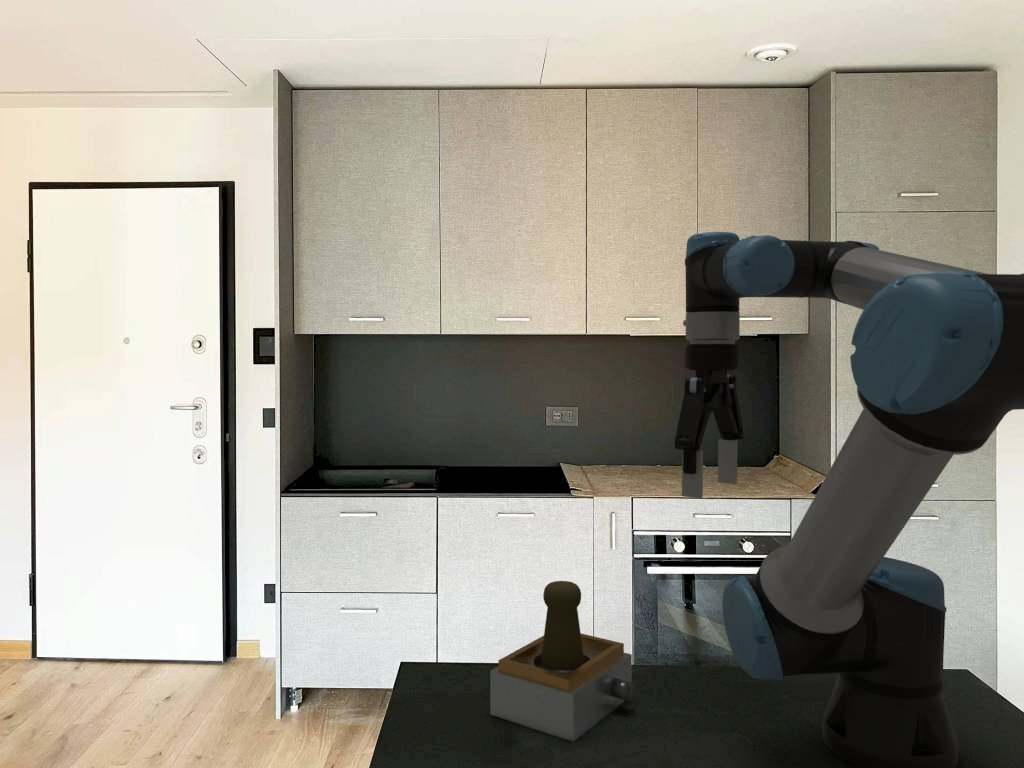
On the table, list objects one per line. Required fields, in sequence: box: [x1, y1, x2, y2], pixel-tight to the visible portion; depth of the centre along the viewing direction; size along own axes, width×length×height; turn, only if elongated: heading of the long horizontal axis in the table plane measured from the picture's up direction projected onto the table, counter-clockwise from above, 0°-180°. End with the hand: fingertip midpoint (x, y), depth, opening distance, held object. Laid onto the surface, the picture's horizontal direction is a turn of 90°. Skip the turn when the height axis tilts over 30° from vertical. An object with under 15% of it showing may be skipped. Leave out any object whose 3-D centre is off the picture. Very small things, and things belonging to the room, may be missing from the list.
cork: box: [541, 580, 584, 671], centre depth 110 cm, size 6×6×11 cm
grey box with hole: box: [489, 632, 636, 743], centre depth 110 cm, size 15×16×8 cm
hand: (710, 489), depth 116 cm, fingers open, 13 cm apart
